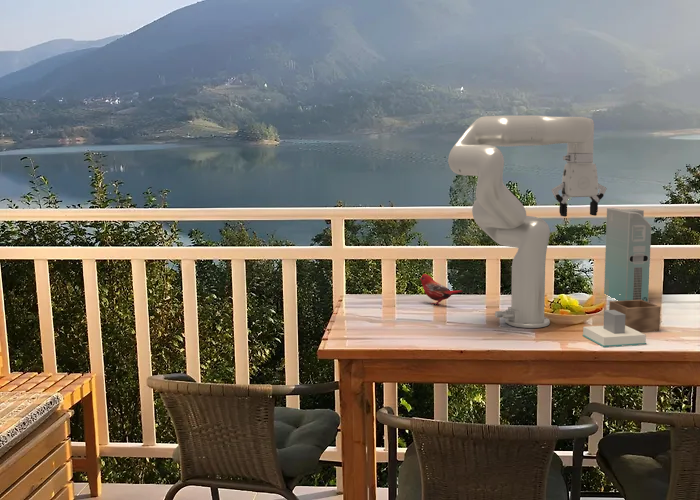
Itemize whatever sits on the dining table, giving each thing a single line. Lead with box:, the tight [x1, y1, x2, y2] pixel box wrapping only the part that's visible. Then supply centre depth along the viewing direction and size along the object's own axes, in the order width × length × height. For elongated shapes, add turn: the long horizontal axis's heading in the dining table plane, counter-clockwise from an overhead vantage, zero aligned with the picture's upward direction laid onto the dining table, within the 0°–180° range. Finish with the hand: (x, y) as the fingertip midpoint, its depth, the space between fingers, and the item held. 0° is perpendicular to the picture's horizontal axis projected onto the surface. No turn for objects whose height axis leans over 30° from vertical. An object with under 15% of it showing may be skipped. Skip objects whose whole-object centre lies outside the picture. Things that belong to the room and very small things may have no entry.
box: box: [608, 300, 661, 333], centre depth 223 cm, size 10×10×7 cm
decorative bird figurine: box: [419, 273, 463, 306], centre depth 255 cm, size 3×18×10 cm, turn 46°
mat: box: [582, 334, 647, 348], centre depth 210 cm, size 12×12×1 cm
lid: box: [582, 309, 647, 346], centre depth 210 cm, size 12×12×7 cm
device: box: [603, 207, 652, 302], centre depth 260 cm, size 16×8×30 cm, turn 7°
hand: (578, 215), depth 239 cm, fingers open, 9 cm apart
